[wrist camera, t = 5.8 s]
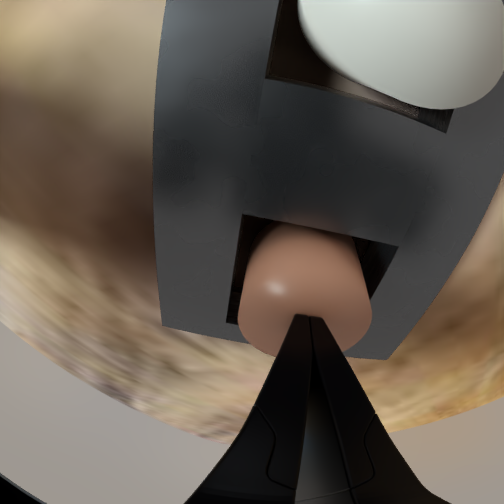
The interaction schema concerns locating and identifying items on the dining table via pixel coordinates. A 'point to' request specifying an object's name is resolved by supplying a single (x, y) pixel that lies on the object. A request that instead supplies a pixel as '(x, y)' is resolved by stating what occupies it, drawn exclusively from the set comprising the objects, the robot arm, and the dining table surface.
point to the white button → (411, 46)
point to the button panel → (304, 173)
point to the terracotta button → (302, 285)
